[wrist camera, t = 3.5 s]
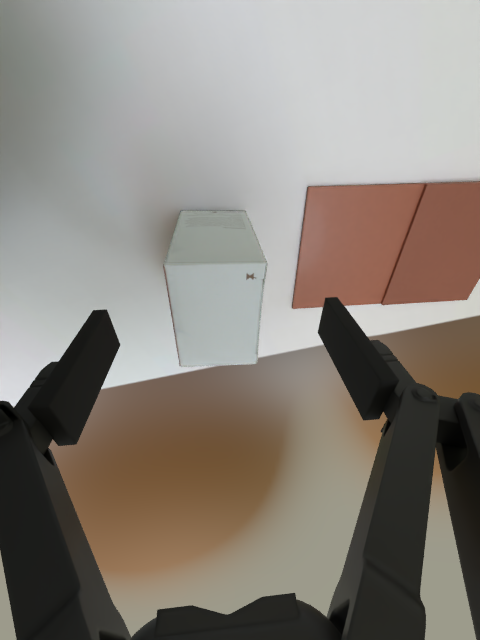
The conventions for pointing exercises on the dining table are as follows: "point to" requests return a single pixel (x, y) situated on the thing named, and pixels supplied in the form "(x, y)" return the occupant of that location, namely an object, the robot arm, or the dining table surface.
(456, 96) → the dining table surface
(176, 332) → the small box
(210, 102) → the dining table surface
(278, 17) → the dining table surface
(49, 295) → the dining table surface
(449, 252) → the napkin
